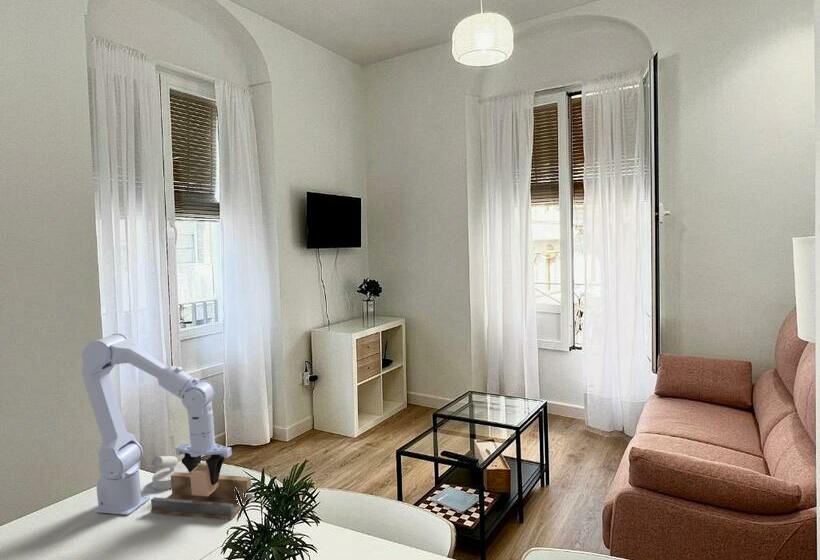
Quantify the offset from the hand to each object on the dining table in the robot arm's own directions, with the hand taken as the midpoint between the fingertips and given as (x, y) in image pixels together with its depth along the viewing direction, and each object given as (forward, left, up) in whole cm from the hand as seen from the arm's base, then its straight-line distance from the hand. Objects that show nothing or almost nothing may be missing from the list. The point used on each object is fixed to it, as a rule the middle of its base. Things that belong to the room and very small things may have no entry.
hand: (206, 482), depth 130 cm
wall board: (-1, -1, -6) cm, 6 cm away
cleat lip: (-1, -5, -5) cm, 7 cm away
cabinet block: (0, 0, -2) cm, 2 cm away
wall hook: (-18, +9, -6) cm, 21 cm away
